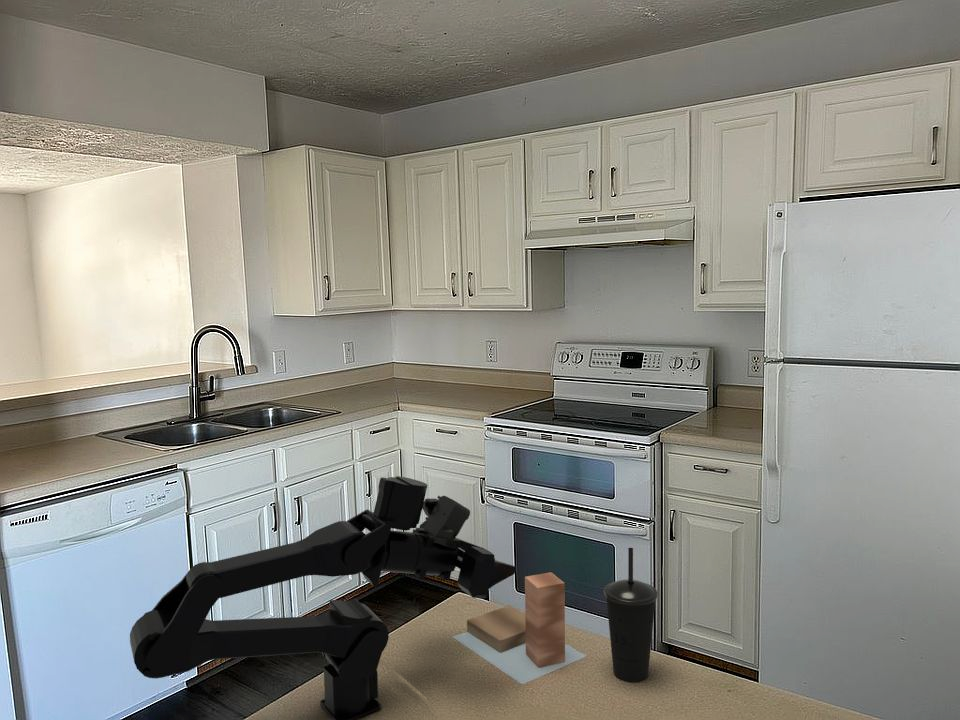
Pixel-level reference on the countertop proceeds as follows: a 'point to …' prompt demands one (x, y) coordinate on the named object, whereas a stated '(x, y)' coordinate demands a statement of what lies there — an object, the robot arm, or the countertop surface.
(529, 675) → the board
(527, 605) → the terracotta pillar
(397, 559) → the robot arm
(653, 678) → the countertop surface
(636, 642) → the drinking cup
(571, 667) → the countertop surface
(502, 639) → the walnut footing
